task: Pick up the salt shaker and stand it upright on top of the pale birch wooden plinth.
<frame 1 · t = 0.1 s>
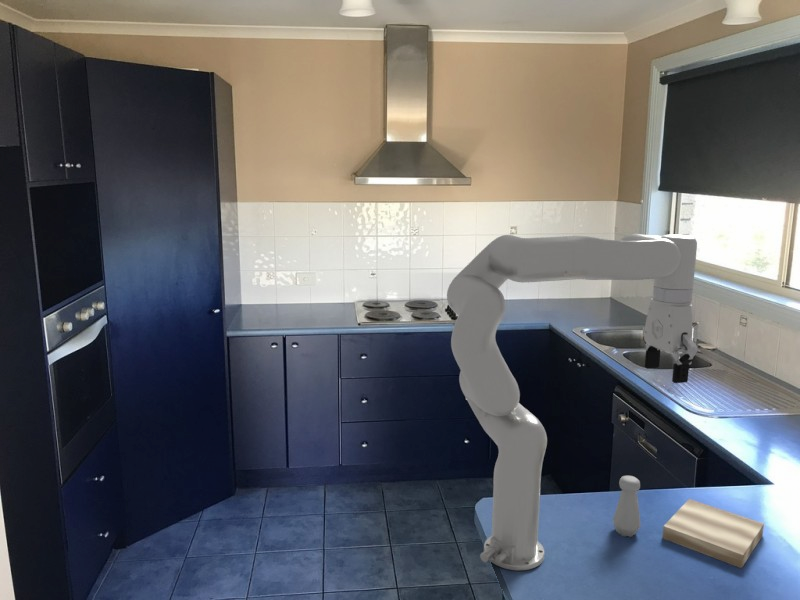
hand: (665, 374, 137), 37 cm above the worktop, tool pointing down, fingers open, 9 cm apart
plinth: (712, 537, 143), on the worktop
salt shaker: (625, 532, 145), on the worktop
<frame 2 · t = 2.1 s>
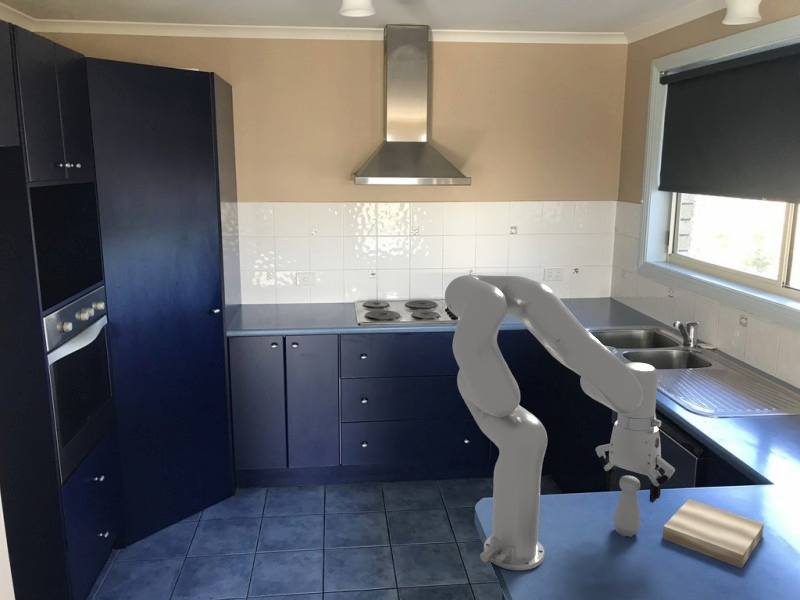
hand: (632, 492, 143), 9 cm above the worktop, tool pointing down, fingers open, 9 cm apart
nothing on the worktop moved.
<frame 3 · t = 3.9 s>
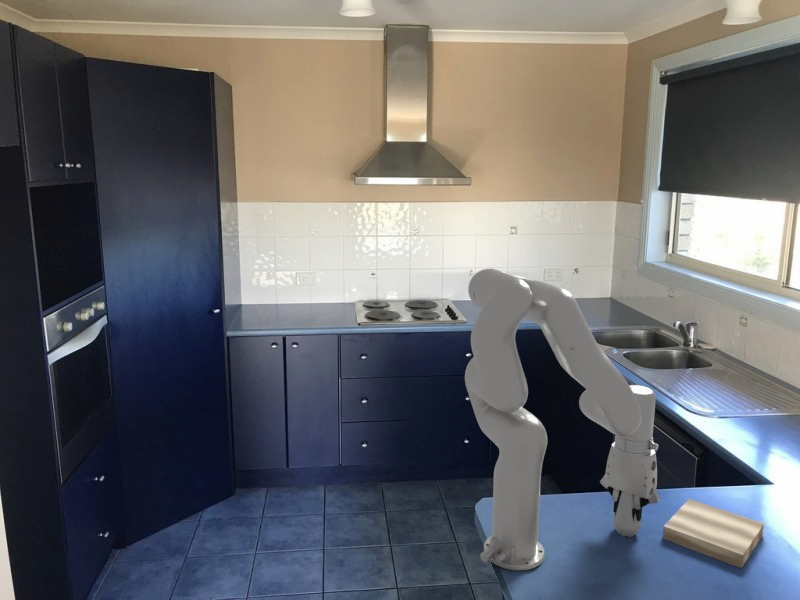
hand: (626, 518, 144), 3 cm above the worktop, tool pointing down, fingers closed on salt shaker, 3 cm apart
salt shaker: (626, 532, 145), on the worktop, touching gripper
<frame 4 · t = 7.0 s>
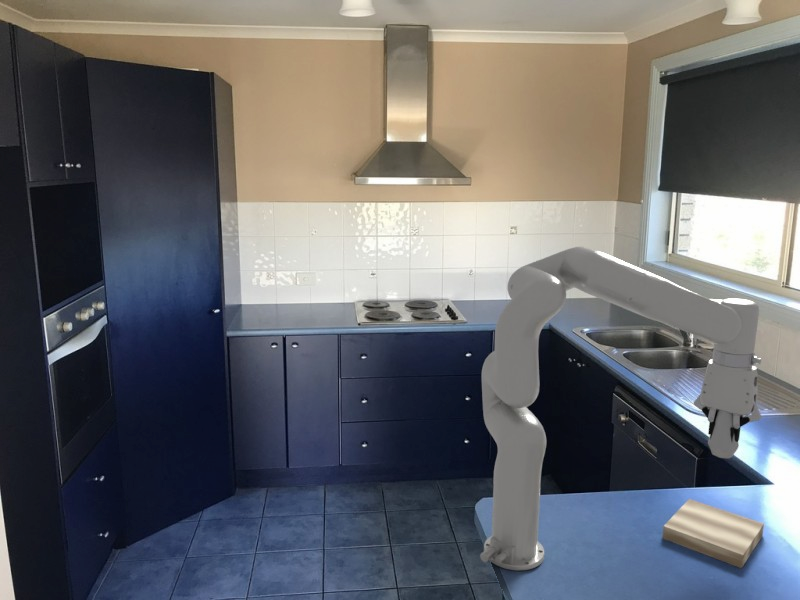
hand: (723, 440, 138), 23 cm above the worktop, tool pointing down, fingers closed on salt shaker, 3 cm apart
salt shaker: (721, 455, 139), point 19 cm above the worktop, touching gripper
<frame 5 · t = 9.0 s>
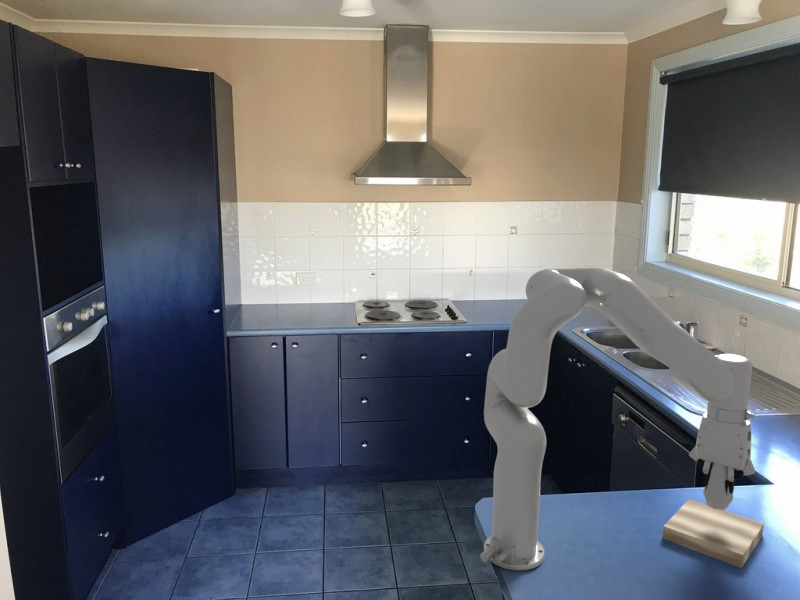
hand: (717, 491, 141), 11 cm above the worktop, tool pointing down, fingers closed on salt shaker, 3 cm apart
salt shaker: (716, 505, 141), point 8 cm above the worktop, touching gripper
when the fingers open (7 cm above the worktop, at t = 10.4 s): salt shaker drops 1 cm, resting on plinth.
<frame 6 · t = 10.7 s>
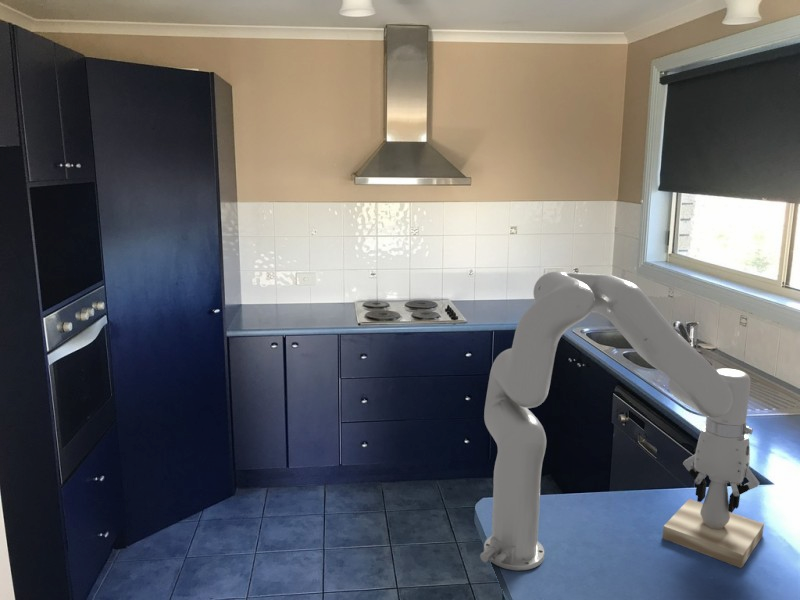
hand: (716, 503, 141), 8 cm above the worktop, tool pointing down, fingers open, 5 cm apart
salt shaker: (713, 525, 142), point 3 cm above the worktop, touching plinth
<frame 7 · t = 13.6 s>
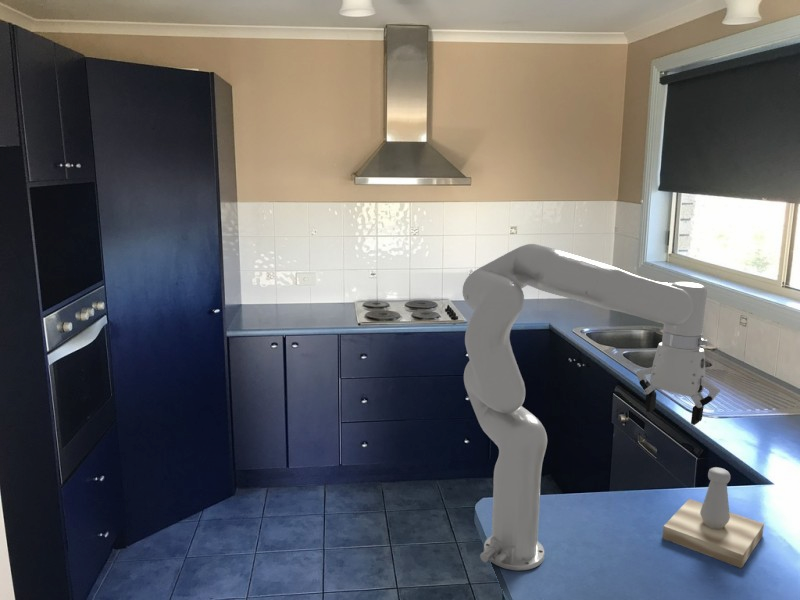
hand: (672, 416, 141), 27 cm above the worktop, tool pointing down, fingers open, 9 cm apart
nothing on the worktop moved.
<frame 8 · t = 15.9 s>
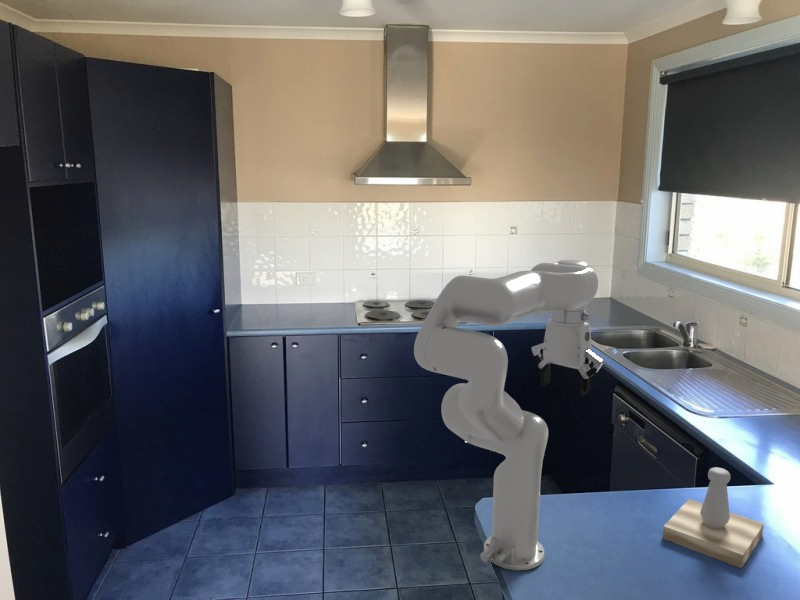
hand: (564, 388, 148), 30 cm above the worktop, tool pointing down, fingers open, 9 cm apart
nothing on the worktop moved.
at the end: salt shaker inside the target area on the plinth (0.1 cm from its centre), point 2.8 cm above the plinth's base; salt shaker tilted 0°; salt shaker touching plinth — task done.
